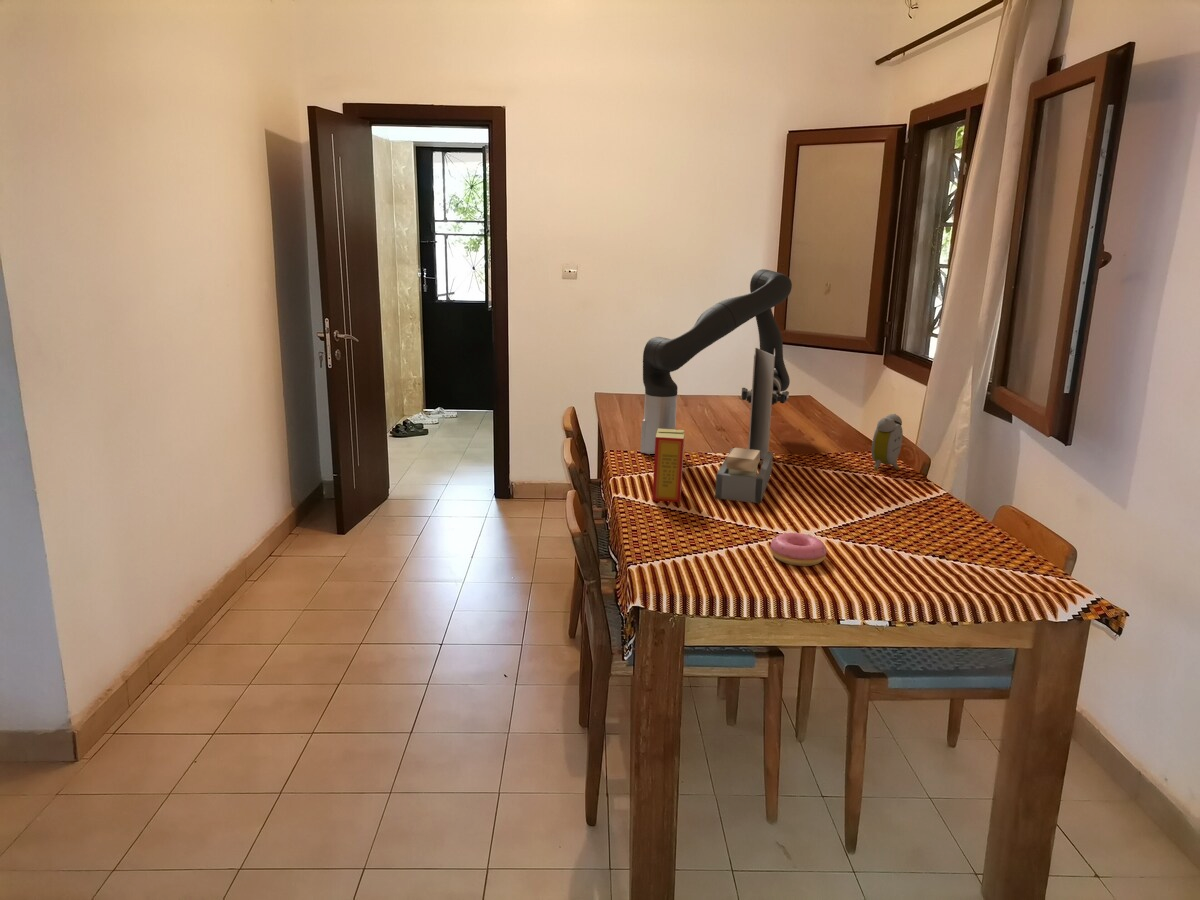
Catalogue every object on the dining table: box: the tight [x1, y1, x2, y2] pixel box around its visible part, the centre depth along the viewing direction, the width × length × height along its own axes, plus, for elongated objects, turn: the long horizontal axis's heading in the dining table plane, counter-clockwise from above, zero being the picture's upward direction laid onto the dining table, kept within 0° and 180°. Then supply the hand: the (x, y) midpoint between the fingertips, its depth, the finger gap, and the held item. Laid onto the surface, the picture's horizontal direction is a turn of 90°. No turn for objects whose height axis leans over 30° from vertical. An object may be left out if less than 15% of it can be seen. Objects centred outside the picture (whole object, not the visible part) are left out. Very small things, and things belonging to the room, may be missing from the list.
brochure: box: [747, 347, 775, 461], centre depth 230 cm, size 14×6×30 cm, turn 168°
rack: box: [714, 447, 774, 504], centre depth 209 cm, size 11×27×6 cm, turn 163°
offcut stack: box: [726, 447, 761, 477], centre depth 202 cm, size 7×10×10 cm
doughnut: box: [770, 532, 828, 567], centre depth 163 cm, size 11×11×4 cm
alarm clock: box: [870, 413, 904, 471], centre depth 228 cm, size 12×7×15 cm, turn 145°
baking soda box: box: [651, 428, 686, 503], centre depth 197 cm, size 10×6×16 cm
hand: (761, 400), depth 231 cm, fingers closed on brochure, 6 cm apart
